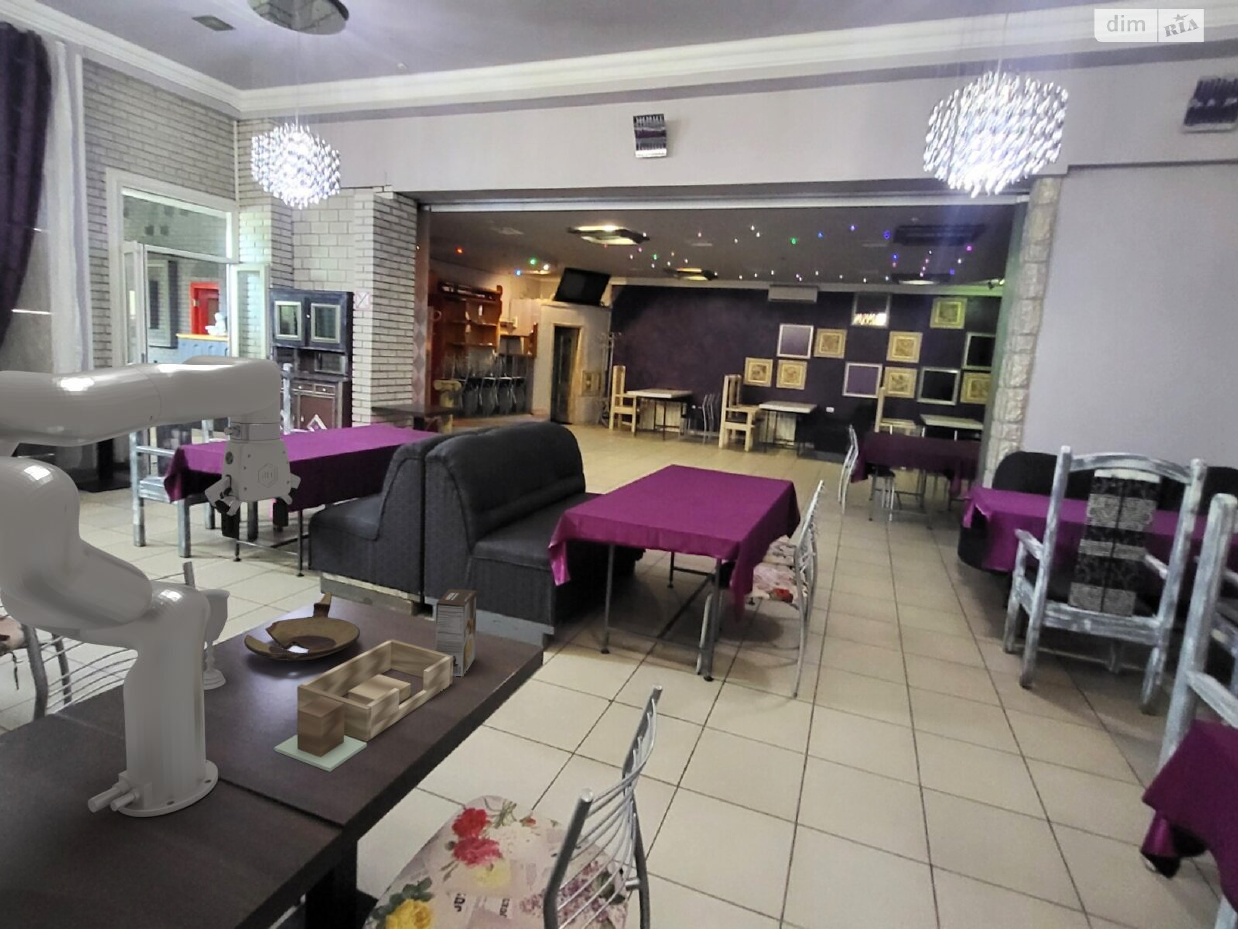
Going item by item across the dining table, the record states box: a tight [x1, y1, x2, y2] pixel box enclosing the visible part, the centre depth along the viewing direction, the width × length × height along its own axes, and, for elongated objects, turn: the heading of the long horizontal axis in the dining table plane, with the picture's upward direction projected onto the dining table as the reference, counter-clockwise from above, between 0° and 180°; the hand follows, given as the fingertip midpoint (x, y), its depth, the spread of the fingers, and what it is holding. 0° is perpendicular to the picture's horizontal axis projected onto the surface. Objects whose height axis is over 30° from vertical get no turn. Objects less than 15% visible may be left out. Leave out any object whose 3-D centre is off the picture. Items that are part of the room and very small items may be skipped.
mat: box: [273, 734, 368, 772], centre depth 109 cm, size 8×12×1 cm, turn 68°
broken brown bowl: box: [243, 591, 361, 662], centre depth 145 cm, size 22×30×8 cm
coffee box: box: [434, 588, 478, 678], centre depth 140 cm, size 9×6×16 cm
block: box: [296, 696, 345, 757], centre depth 109 cm, size 5×5×7 cm
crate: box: [296, 638, 454, 743], centre depth 126 cm, size 24×16×6 cm, turn 158°
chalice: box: [199, 588, 231, 691], centre depth 126 cm, size 7×7×18 cm
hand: (256, 531), depth 112 cm, fingers open, 9 cm apart
